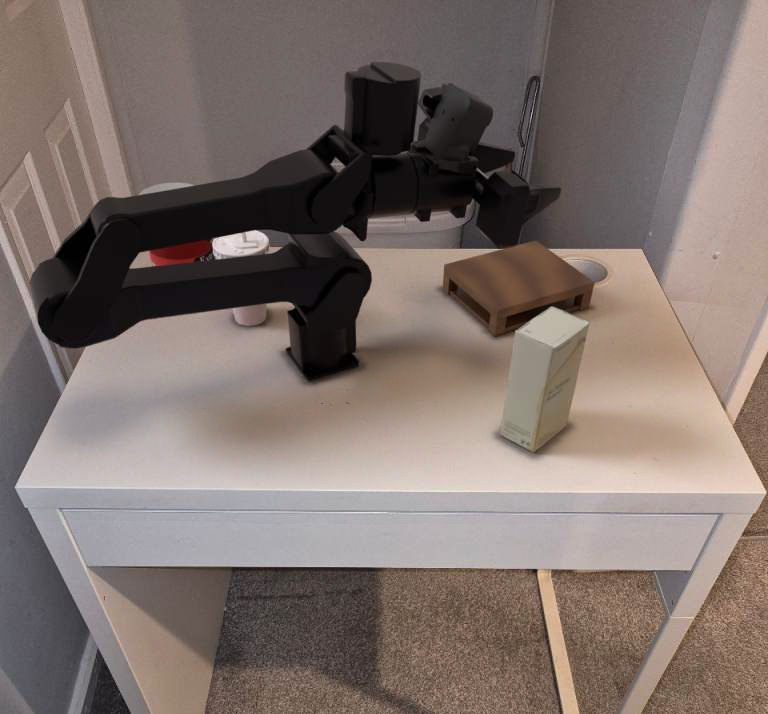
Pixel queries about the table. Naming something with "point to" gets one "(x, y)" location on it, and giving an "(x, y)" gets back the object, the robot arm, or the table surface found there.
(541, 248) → the shelf
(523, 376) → the cosmetic box
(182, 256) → the canned food
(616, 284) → the table surface
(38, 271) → the robot arm
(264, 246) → the smoothie
